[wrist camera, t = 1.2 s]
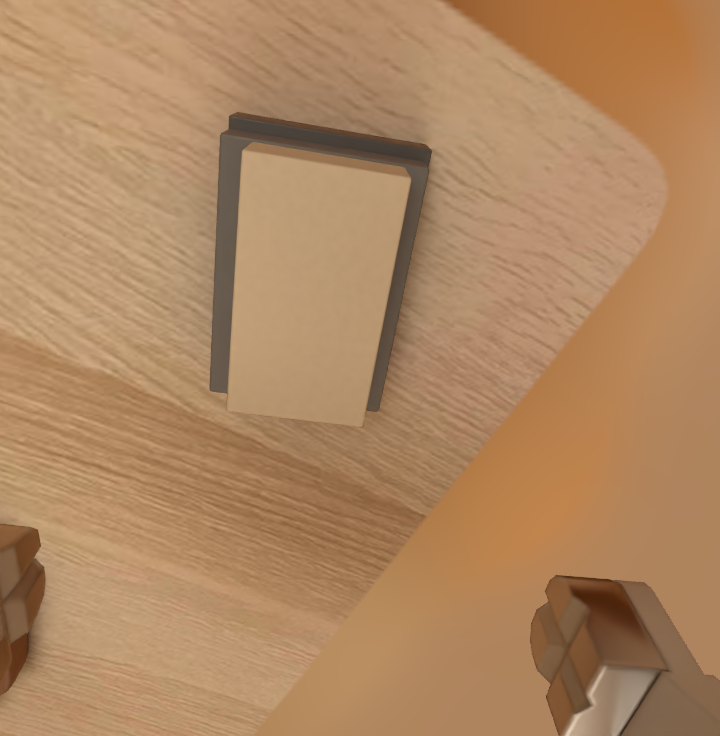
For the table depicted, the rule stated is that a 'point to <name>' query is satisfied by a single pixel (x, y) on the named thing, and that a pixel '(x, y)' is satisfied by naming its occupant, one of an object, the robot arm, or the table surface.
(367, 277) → the beige block
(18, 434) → the table surface
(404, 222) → the grey books
